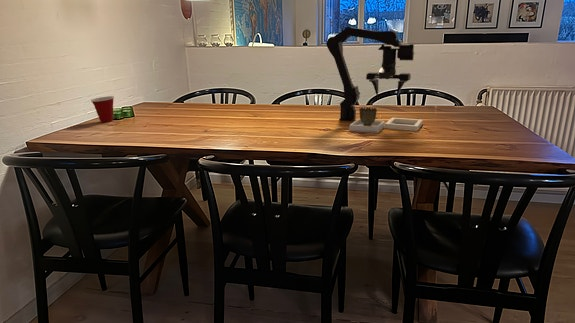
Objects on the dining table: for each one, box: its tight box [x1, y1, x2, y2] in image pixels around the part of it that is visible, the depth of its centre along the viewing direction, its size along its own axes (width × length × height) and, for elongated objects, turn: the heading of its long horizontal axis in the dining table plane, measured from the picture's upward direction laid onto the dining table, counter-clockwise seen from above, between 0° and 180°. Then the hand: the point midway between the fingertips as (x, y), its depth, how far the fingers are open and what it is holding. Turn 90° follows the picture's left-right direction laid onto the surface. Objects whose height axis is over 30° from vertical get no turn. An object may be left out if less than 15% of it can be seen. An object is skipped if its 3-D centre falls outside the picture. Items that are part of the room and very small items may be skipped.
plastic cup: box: [90, 95, 115, 124], centre depth 197 cm, size 11×11×12 cm
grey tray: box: [348, 118, 386, 134], centre depth 171 cm, size 12×12×2 cm
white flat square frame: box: [384, 117, 423, 132], centre depth 174 cm, size 14×14×2 cm
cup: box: [358, 106, 378, 126], centre depth 170 cm, size 8×7×8 cm
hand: (387, 95), depth 180 cm, fingers open, 9 cm apart
